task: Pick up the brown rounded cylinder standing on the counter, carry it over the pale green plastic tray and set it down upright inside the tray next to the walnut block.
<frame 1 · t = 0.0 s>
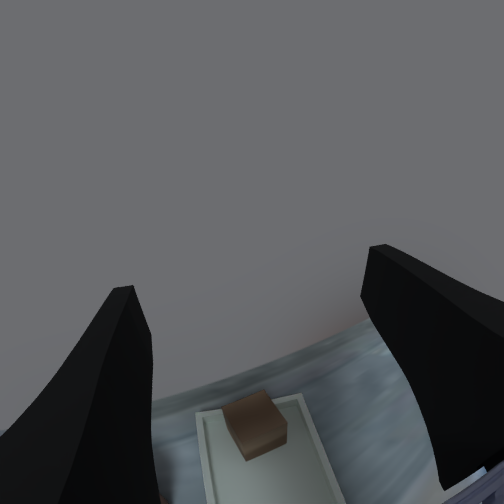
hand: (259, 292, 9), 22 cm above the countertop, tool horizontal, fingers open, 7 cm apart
walnut block: (256, 436, 25), point 1 cm above the countertop, touching tray
tray: (270, 489, 20), on the countertop
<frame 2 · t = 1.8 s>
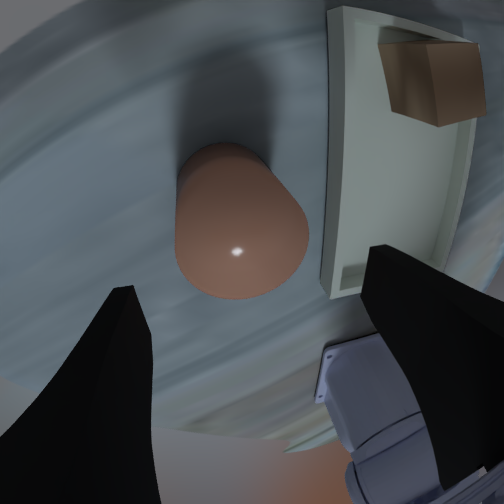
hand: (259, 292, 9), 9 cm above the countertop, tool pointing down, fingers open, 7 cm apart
brown rounded cylinder: (223, 188, 16), on the countertop
walnut block: (411, 73, 14), point 1 cm above the countertop, touching tray
tray: (400, 158, 17), on the countertop
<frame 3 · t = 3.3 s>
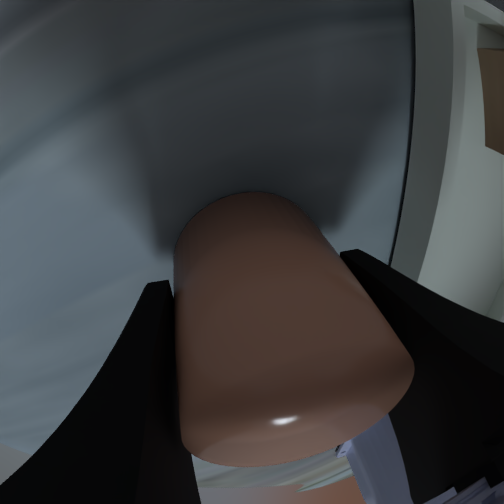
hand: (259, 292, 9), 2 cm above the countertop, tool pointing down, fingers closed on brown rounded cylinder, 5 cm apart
brown rounded cylinder: (248, 262, 11), on the countertop, touching gripper
tray: (480, 205, 12), on the countertop
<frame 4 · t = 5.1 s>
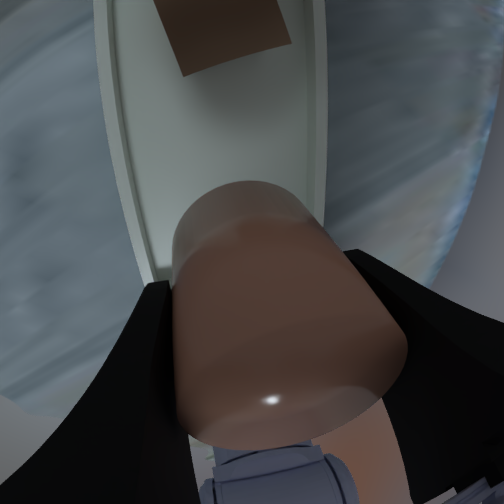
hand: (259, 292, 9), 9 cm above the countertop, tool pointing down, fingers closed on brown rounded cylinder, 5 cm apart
brown rounded cylinder: (245, 249, 11), point 7 cm above the countertop, touching gripper
walnut block: (211, 25, 11), point 1 cm above the countertop, touching tray
tray: (217, 131, 15), on the countertop
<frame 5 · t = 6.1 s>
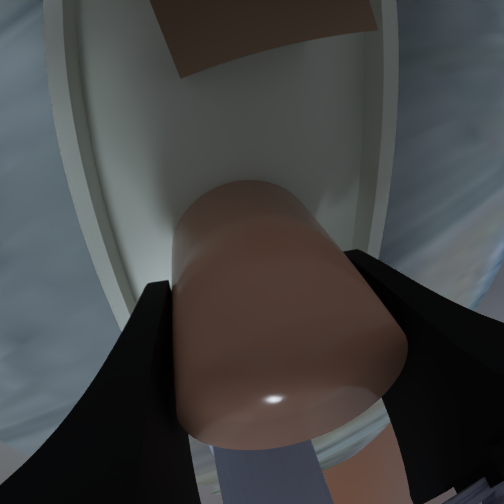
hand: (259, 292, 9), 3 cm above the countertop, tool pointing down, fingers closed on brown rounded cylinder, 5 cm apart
brown rounded cylinder: (245, 249, 11), point 1 cm above the countertop, touching gripper
tray: (234, 161, 10), on the countertop
when the fingers open (3 cm above the countertop, at t = 7.0 s): brown rounded cylinder stays where it is, resting on tray.
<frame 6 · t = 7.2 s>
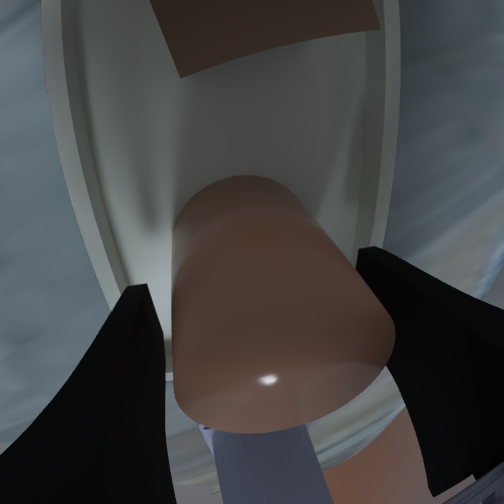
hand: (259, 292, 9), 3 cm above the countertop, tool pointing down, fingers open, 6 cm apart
brown rounded cylinder: (242, 242, 11), point 1 cm above the countertop, touching tray
tray: (234, 162, 10), on the countertop
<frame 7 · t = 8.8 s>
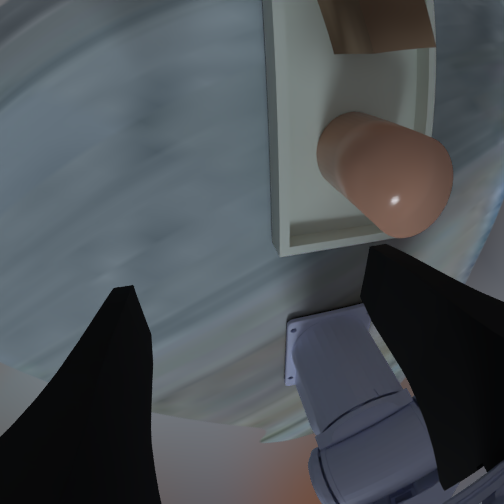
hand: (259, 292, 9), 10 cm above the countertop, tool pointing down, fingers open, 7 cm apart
brown rounded cylinder: (354, 151, 17), point 1 cm above the countertop, touching tray
walnut block: (355, 17, 13), point 1 cm above the countertop, touching tray
tray: (351, 105, 16), on the countertop
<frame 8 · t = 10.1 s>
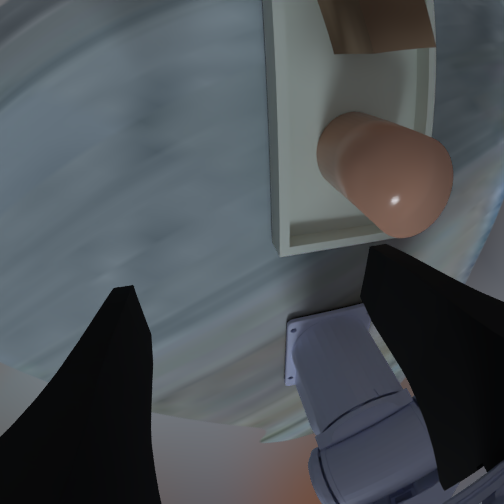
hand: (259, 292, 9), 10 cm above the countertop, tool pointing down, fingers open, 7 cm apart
brown rounded cylinder: (354, 151, 17), point 1 cm above the countertop, touching tray
walnut block: (355, 17, 13), point 1 cm above the countertop, touching tray
tray: (351, 105, 16), on the countertop
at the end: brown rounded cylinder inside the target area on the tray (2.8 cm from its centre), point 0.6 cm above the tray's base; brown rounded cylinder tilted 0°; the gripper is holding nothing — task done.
